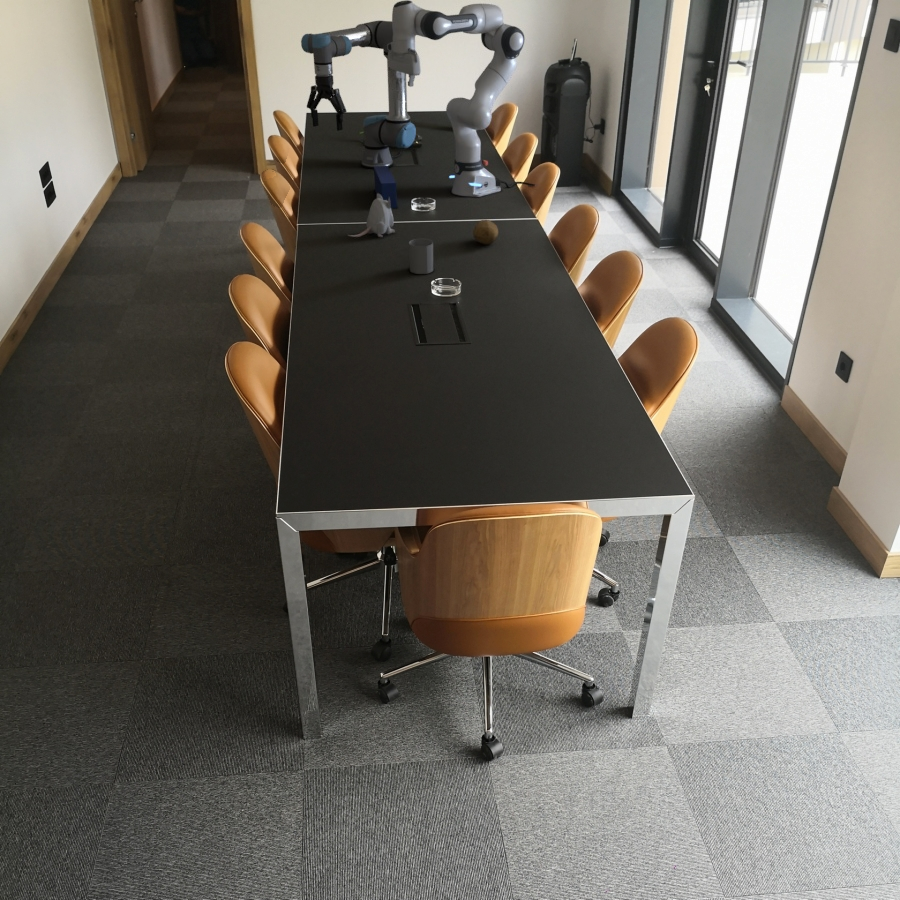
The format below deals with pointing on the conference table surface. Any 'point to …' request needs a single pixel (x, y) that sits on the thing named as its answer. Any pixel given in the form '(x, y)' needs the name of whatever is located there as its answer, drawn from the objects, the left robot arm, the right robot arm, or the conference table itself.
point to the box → (385, 184)
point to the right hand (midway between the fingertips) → (404, 84)
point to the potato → (485, 232)
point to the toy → (379, 218)
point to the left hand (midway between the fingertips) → (327, 128)
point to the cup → (421, 256)
